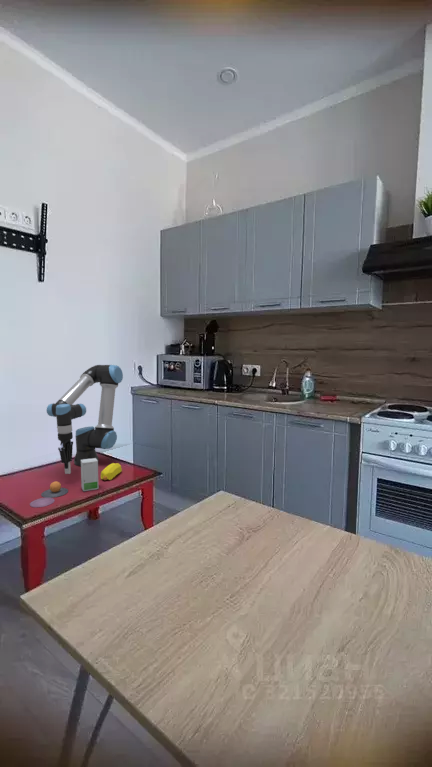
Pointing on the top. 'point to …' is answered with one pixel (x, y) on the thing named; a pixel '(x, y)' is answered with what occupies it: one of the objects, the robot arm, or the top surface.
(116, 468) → the yellow elongated piece
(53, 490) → the ball
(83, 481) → the skincare box
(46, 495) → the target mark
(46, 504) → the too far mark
